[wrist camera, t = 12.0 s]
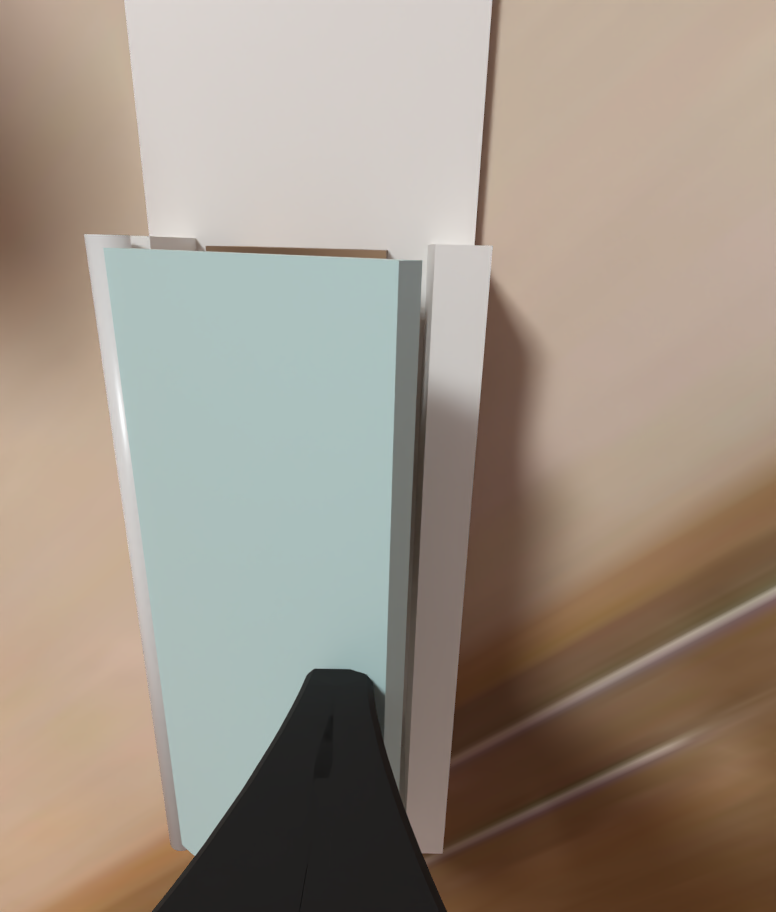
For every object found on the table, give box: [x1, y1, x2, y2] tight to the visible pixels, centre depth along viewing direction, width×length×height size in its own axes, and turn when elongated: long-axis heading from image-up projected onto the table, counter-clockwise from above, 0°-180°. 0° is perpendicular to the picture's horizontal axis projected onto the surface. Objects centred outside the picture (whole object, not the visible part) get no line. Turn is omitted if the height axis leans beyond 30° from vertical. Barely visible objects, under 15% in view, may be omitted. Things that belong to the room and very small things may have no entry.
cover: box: [84, 234, 422, 856], centre depth 11 cm, size 6×14×1 cm
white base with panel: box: [124, 0, 493, 854], centre depth 12 cm, size 7×26×3 cm, turn 179°
